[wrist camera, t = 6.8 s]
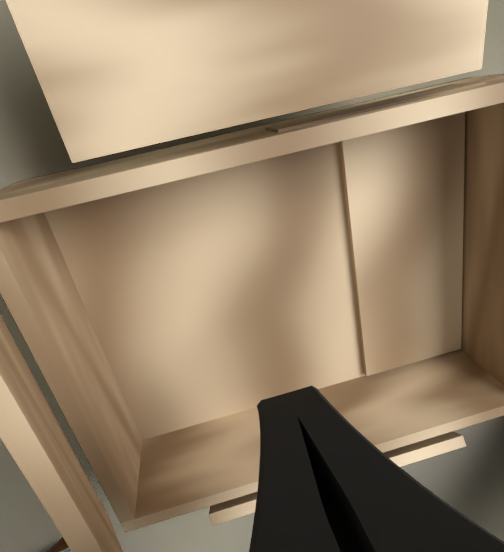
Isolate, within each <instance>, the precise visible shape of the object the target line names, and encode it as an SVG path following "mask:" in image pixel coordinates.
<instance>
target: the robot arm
mask: <svg viewBox="0 0 504 552" xmlns="http://www.w3.org/2000/svg"><path fill="white" fill-rule="evenodd" d="M257 409H258V413H259V422H260V463H259V480H258V491H257V500H256V508H255V516H254V523H253V531H252V538H251V544H250V550H249V552H504V542H503V541H501V540H500V539H498V538H497V537H495V536H494V535H492V534H491V533H489V532H488V531H486V530H485V529H483V528H482V527H480V526H479V525H477V524H476V523H474V522H473V521H471V520H470V519H468V518H467V517H465V516H464V515H463V514H461V513H460V512H458V511H457V510H455V509H454V508H453V507H451V506H450V505H448V504H447V503H446V502H444V501H443V500H441V499H440V498H439V497H437V496H436V495H435V494H433V493H432V492H431V491H429V490H428V489H427V488H425V487H424V486H423V485H422V484H420V483H419V482H418V481H416V480H415V479H414V478H413V477H411V476H410V475H409V474H408V473H406V472H405V471H404V470H403V469H401V468H400V467H399V466H398V465H396V464H395V463H394V462H393V461H392V460H390V459H389V458H388V457H387V456H386V455H385V454H383V453H382V452H381V451H380V450H379V449H378V448H377V447H375V446H374V445H373V444H372V443H371V442H370V441H369V440H368V439H366V438H365V437H364V436H363V435H362V434H361V433H360V432H359V431H358V430H357V429H356V428H354V427H353V426H352V425H351V424H350V423H349V422H348V421H347V420H346V419H345V418H344V417H343V416H342V415H341V414H340V413H339V412H338V411H337V410H336V409H335V408H334V407H333V406H332V405H331V404H330V403H329V401H328V400H327V399H326V398H325V397H324V396H323V395H322V394H321V393H320V391H319V390H318V389H317V388H315V387H313V386H309V387H305V388H302V389H298V390H295V391H292V392H288V393H285V394H281V395H278V396H274V397H271V398H267V399H264V400H261V401H260V402H259V403H258V405H257Z"/></svg>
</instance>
